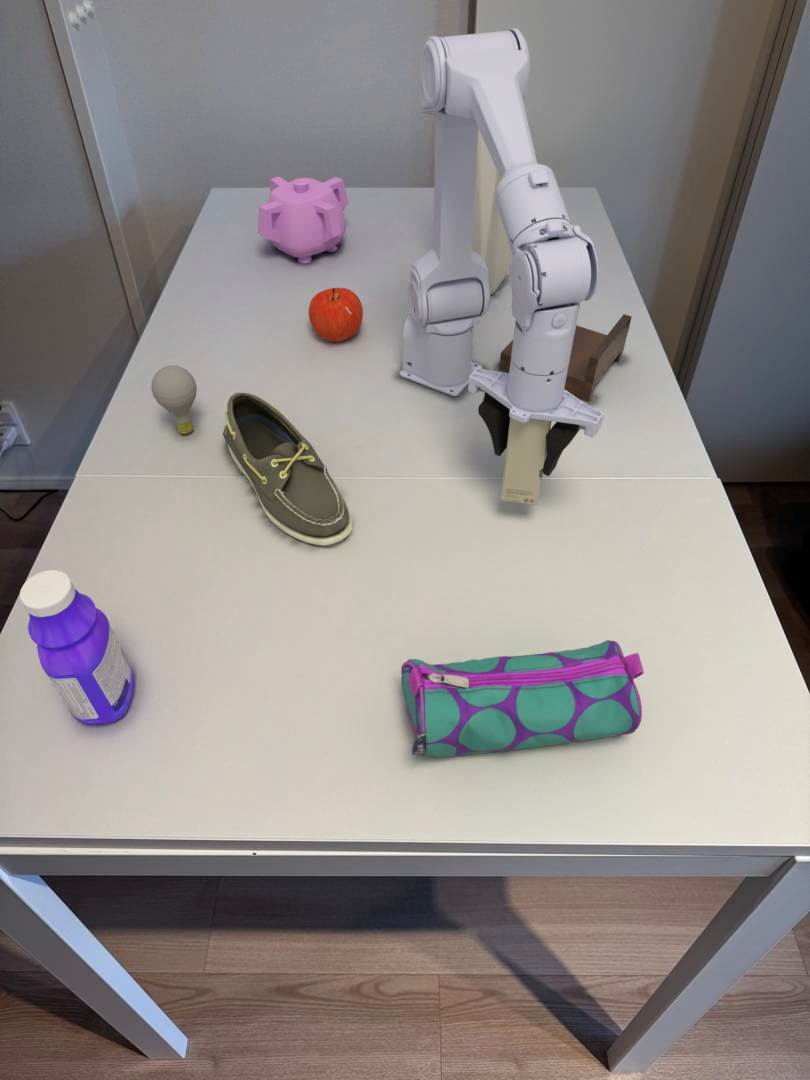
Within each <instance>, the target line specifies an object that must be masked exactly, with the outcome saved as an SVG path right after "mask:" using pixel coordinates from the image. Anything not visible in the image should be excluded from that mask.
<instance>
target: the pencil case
mask: <svg viewBox="0 0 810 1080" xmlns="http://www.w3.org/2000/svg"><path fill="white" fill-rule="evenodd" d="M400 672H401V677H400V679H401V690H402V694H403V700H404V702H405V707H406V712H407V716H408V719H409V721H410V725H411V726H412V729H413V730H414V732H415V735H416V738H415V739H414V741H413V744H412V745H413V746H412V749H411V750H412V751H411V755H412V756H421V755H423V756H424V757H425V758H427V757H434V758H446V757H453V756H454V757H455V756H460V755H461V756H463V755H464V756H465V755H473V754H484V753H493V752H499V751H508V750H520V749H526V748H527V749H529V748H530V749H531V748H532V749H533V748H539V747H544V746H553V745H560V744H567V743H575V742H579V741H587V740H596V739H597V740H598V739H602V738H606V737H620V736H625V735H626V736H627V735H631V734H633V733H635V732H636V731H637V730H638V729H639V727H640V725H641V722H642V718H643V707H642V706H643V705H642V699H641V695H640V692H639V689H638V687H637V685H636V682H635V679H637V678H638V677H641V676H642V675H644V673H645V672H644V668H643V663H642V660H641V656H640V654H639V652H635V653H631V654H628V655H624V652H623V650H622V647H621V644H620V643H618V641H616V640H609V639H607V640H604V641H602V642H601V643H598V644H593V645H590V646H588V647H580V648H576V649H567V650H561V651H551V652H550V651H549V652H543V653H533V654H525V655H512V656H511V655H508V656H507V655H505V656H504V655H503V656H493V657H486V658H481V659H469V660H466V661H457V662H450V663H439V664H438V663H437V664H430V663H427V662H425V661H423V660H421V659H418V658H409V659H407V660H406V661H404V662H403V663H402V665H401V668H400Z"/></svg>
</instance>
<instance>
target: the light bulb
mask: <svg viewBox="0 0 810 1080" xmlns="http://www.w3.org/2000/svg"><path fill="white" fill-rule="evenodd" d="M197 388H198V387H197V382H196V380H195V378H194V376H193V375H192V374H191V373H190V371H189V370H187V369H186V368H184V367H183V366H179V365H167V366H164V367H161V368H160V369H158V370H157V372H155V374H154V375H153V377H152V380H151V393H152V396H153V398H154V400H155V401H156V403H158V405H160V406H161V407H162V408H163V409H165V410H166V411H167V412H169V413H170V414H171V416H172V418H173V421H174V422H175V426H176V430H177V432H178V433H179V434H181V435H187V434H189V433H191V432H192V431H193V430H194V424H193V421H192V419H193V417H192V413H191V409H192V406H193V404H194V402H195V399H196V396H197V392H198V391H197V390H198V389H197Z"/></svg>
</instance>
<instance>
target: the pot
mask: <svg viewBox="0 0 810 1080" xmlns="http://www.w3.org/2000/svg"><path fill="white" fill-rule="evenodd" d="M269 182H270V183H269V187H270V191H269V192H270V194H269V197H268V200H267V203H265V204H261V205H258V207H257V208H258V210H257V211H258V215H257V234H258V235H260V236H261V237H263V238H265V239H268V240H269V241H270V242H271V244H272V245H273V246H274V247H275V248H276V249H278V250H279V251H281V252H283V253H285V254H287V255H289V256H291V257H294V258H297V261H298V263H301V264H307V263H310V262H311V261H312V256H314V255H318V254H321V253H323V252H328V253H329V252H330V253H331V252H335V251H337V250H338V246H337V245H338V244H339V243H341V241H342V240H343V238H344V236H345V233H346V229H347V228H346V227H347V226H346V220H345V216H344V211H345V209H346V208H347V207H348V205H349V204H350V203H349V199H348V194H347V190H346V186H345V183H344V180H343V179H342V178H340V177H338V176H335V177H333V178H330V179H328V180H326V181H323V182H322V181H319V180H317V179H314V178H312V177H299V178H295V179H293V180H291V181H287V180H285V179H284V178H282V177H281V176H275V177H273V178H270V179H269Z"/></svg>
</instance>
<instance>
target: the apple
mask: <svg viewBox="0 0 810 1080" xmlns="http://www.w3.org/2000/svg"><path fill="white" fill-rule="evenodd" d="M363 316H364V308H363V304H362V301H361V300H360V297H359V296H358V295H357V294H356V293H355V292H354V291H353V290H351V289H349V288H345V287H330V288H327V289H324V290H321V291H319V292H318V293H316V294H315V295H314V296H313V297H312V298H311V300H310V303H309V306H308V319H309V322H310V326H311V327H312V329H313V330H314V331H315V333H316V334H317V335H318V336H319V337H320V338H322V339H325V340H327V341H329V342H332V343H340V342H343V341H345V340H348V339H350V338H352V337H353V336H354V335H356V334H357V333H358V331H359V330H360V328H361V326H362V322H363Z"/></svg>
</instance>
